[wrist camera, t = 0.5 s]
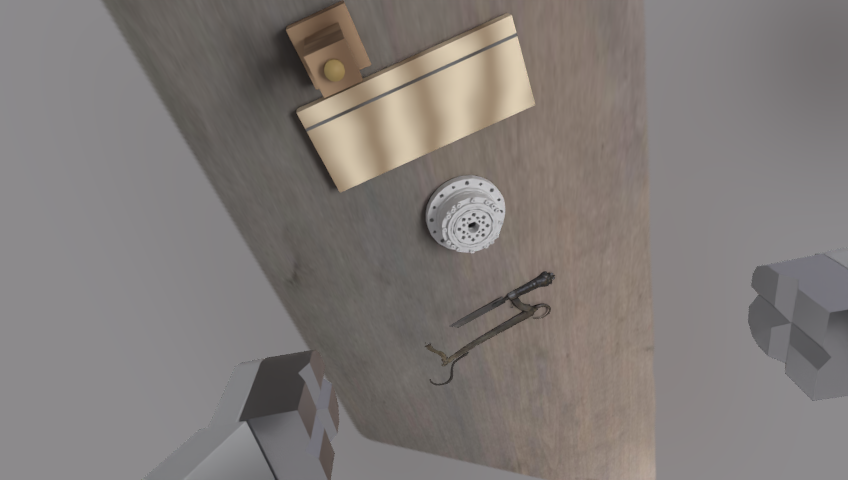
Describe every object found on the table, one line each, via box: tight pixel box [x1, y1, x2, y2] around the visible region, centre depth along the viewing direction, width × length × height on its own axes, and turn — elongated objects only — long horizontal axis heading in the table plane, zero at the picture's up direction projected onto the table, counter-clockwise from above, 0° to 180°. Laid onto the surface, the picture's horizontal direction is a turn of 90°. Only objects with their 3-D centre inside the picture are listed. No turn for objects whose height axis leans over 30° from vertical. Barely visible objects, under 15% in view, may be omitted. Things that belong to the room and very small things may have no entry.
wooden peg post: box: [286, 0, 371, 98], centre depth 45 cm, size 6×6×13 cm
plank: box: [297, 13, 535, 192], centre depth 55 cm, size 24×10×2 cm, turn 111°
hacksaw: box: [425, 271, 555, 385], centre depth 74 cm, size 24×10×2 cm, turn 119°
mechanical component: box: [426, 175, 505, 253], centre depth 62 cm, size 10×4×10 cm
